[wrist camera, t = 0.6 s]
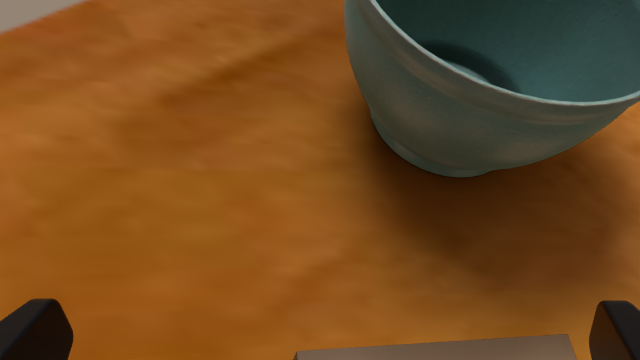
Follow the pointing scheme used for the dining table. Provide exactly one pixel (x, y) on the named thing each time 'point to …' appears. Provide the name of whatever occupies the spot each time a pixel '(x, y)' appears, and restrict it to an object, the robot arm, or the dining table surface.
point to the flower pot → (492, 76)
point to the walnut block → (456, 350)
